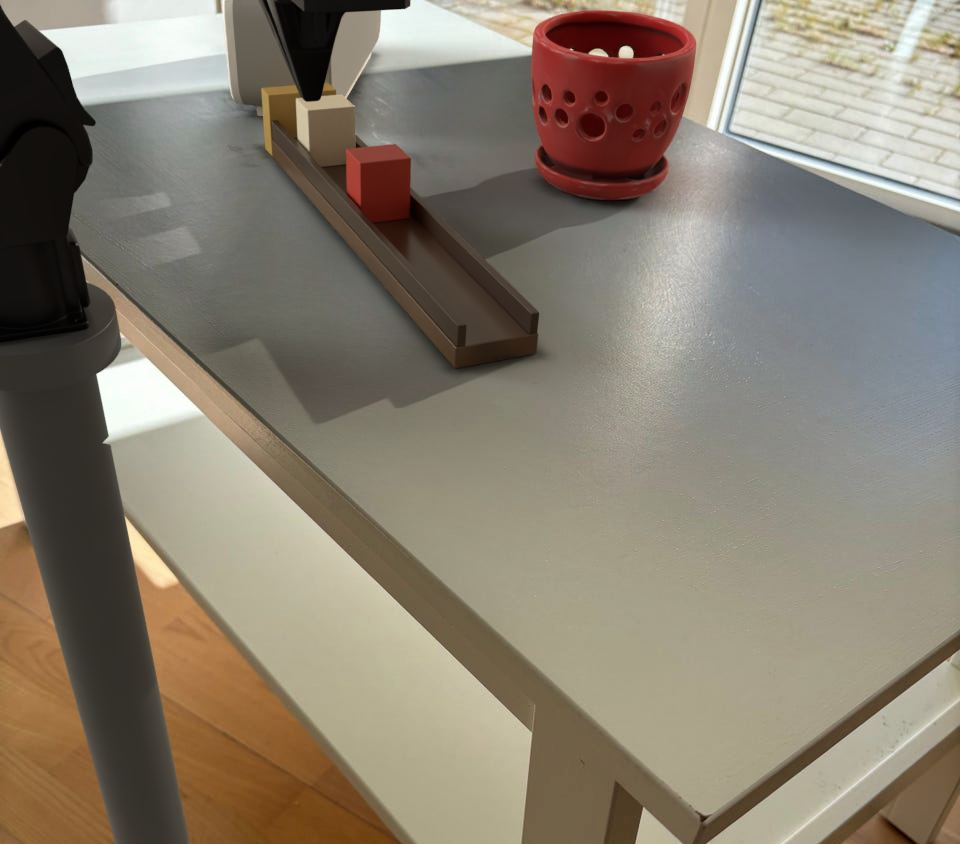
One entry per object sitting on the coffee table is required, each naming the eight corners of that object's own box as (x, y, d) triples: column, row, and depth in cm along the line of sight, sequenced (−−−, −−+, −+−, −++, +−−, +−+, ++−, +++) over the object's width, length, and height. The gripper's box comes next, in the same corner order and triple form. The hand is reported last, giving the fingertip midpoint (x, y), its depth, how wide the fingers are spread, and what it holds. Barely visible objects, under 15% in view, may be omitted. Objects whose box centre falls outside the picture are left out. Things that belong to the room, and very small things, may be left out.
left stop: (272, 156, 94) (268, 95, 91) (265, 148, 95) (260, 87, 92) (337, 150, 96) (336, 89, 93) (330, 142, 98) (328, 82, 94)
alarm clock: (296, 39, 119) (291, -89, 111) (381, 48, 119) (381, -80, 111) (231, 123, 99) (218, -25, 91) (332, 134, 99) (328, -14, 91)
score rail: (454, 369, 70) (456, 326, 68) (272, 156, 94) (269, 120, 92) (536, 354, 72) (541, 312, 70) (337, 150, 96) (336, 114, 94)
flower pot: (538, 145, 100) (552, -1, 92) (679, 168, 99) (707, 20, 90) (505, 197, 91) (517, 39, 83) (660, 223, 89) (688, 64, 81)
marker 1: (310, 168, 89) (307, 110, 86) (298, 155, 91) (295, 98, 88) (356, 163, 90) (355, 106, 87) (343, 150, 92) (342, 94, 89)
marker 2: (360, 224, 82) (360, 163, 79) (346, 209, 84) (345, 148, 80) (410, 218, 83) (411, 157, 80) (395, 203, 85) (395, 143, 82)
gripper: (506, -176, 56) (486, 138, 67) (373, -225, 68) (374, 48, 79) (299, -178, 52) (313, 156, 63) (196, -230, 64) (223, 59, 75)
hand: (310, 99), depth 70 cm, fingers closed
